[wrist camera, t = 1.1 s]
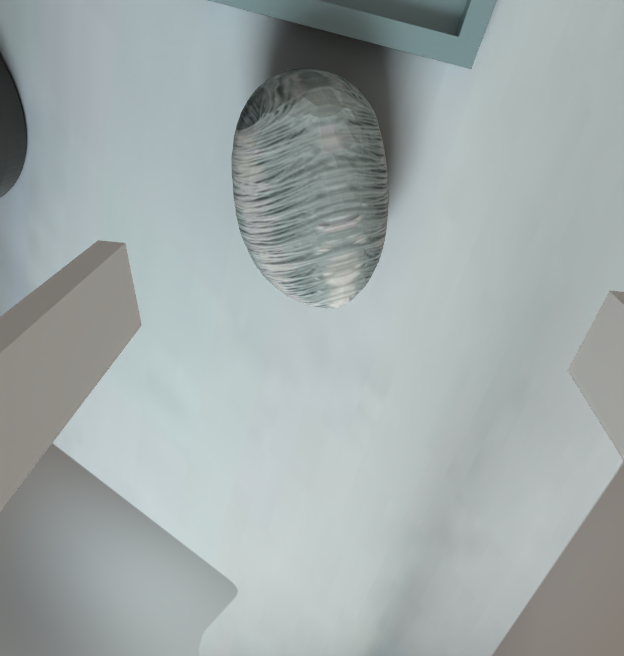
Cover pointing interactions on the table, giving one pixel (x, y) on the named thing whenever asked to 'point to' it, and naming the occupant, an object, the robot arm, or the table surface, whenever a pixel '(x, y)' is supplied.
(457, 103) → the table surface
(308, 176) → the streaked grey egg
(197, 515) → the table surface
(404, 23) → the tray
